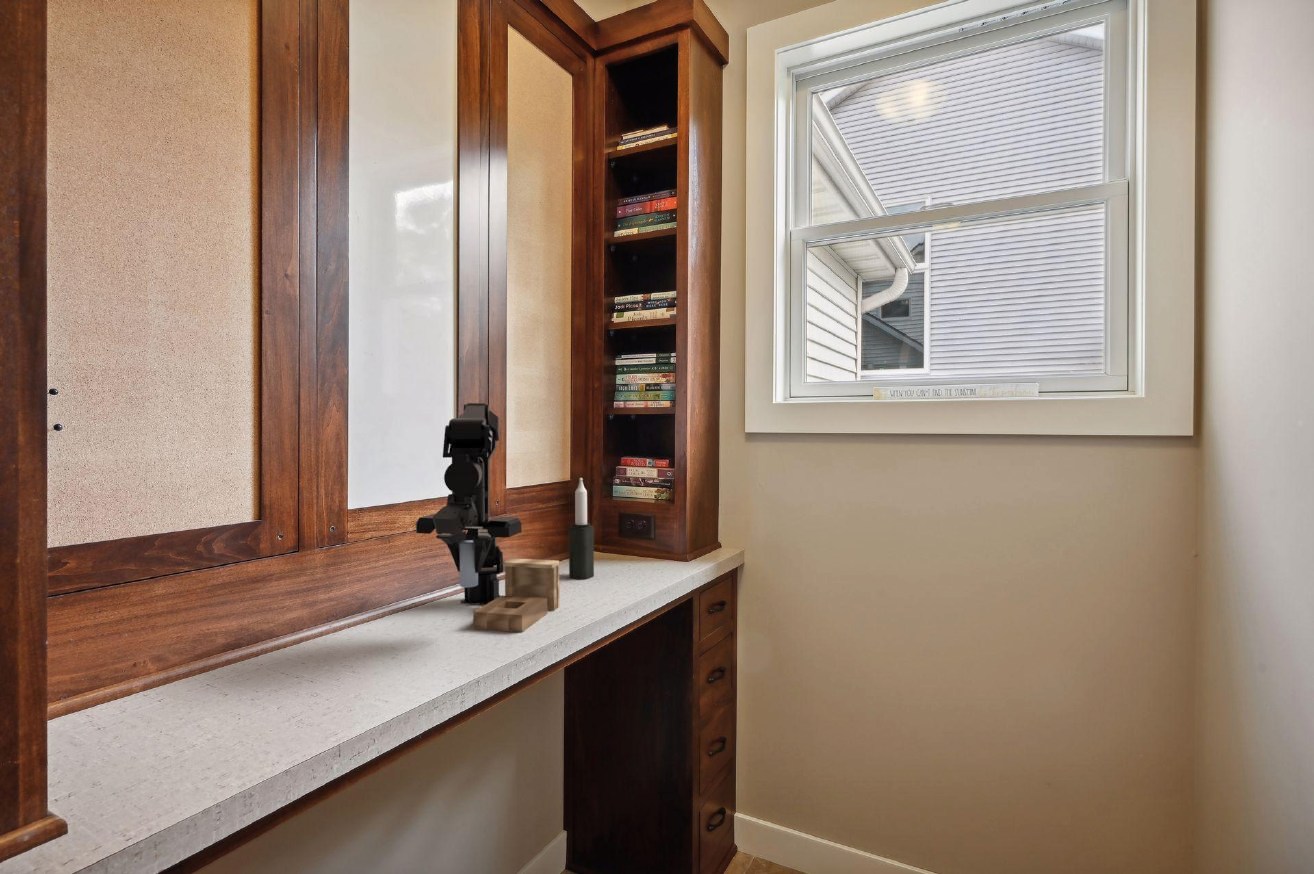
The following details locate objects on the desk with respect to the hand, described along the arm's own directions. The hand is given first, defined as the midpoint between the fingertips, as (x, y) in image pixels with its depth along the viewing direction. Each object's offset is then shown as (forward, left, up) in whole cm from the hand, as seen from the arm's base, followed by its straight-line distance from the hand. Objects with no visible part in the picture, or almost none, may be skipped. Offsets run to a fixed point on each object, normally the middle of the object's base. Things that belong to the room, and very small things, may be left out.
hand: (469, 571), depth 123 cm
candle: (+5, +47, -12) cm, 49 cm away
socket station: (+4, +12, -12) cm, 17 cm away
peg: (0, 0, -2) cm, 2 cm away
